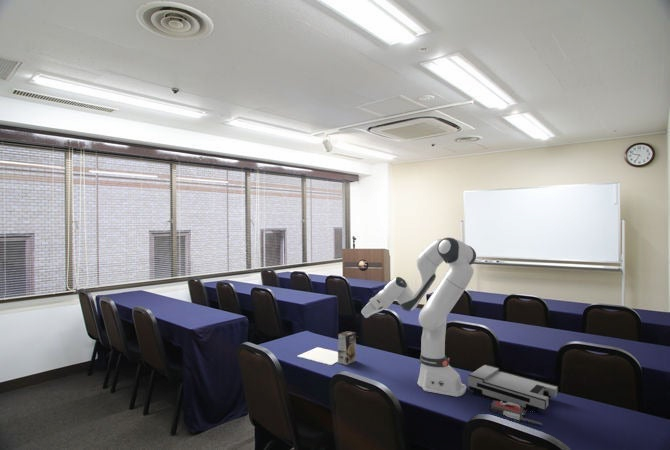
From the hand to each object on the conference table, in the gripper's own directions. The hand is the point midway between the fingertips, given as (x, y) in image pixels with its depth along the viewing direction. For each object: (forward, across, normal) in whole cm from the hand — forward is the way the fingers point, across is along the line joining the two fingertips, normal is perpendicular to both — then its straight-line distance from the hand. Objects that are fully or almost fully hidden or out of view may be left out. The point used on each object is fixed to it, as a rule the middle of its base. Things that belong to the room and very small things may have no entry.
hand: (365, 316), depth 202 cm
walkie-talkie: (-34, +11, +74) cm, 82 cm away
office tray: (-32, -7, +70) cm, 78 cm away
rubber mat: (+39, +1, -1) cm, 39 cm away
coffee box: (+27, 0, +11) cm, 29 cm away
